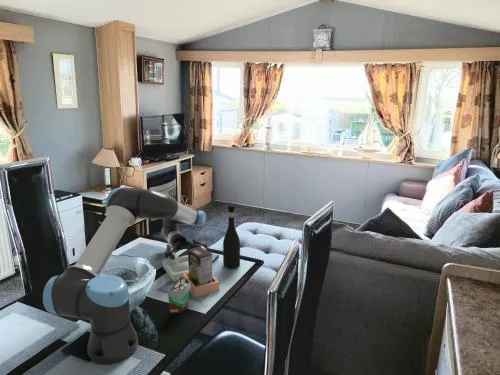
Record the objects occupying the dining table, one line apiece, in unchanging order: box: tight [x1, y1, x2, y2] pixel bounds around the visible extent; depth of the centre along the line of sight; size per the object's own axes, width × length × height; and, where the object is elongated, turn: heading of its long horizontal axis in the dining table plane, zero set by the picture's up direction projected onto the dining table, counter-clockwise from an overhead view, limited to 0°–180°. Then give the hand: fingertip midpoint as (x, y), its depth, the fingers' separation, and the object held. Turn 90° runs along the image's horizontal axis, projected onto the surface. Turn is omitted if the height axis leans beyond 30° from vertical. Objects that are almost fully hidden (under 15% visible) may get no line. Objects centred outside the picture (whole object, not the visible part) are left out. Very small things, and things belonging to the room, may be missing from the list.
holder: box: [183, 272, 220, 298], centre depth 153 cm, size 11×14×4 cm
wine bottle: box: [222, 204, 241, 270], centre depth 168 cm, size 8×8×30 cm
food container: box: [167, 276, 191, 315], centre depth 137 cm, size 12×6×10 cm, turn 168°
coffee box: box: [187, 247, 213, 286], centre depth 151 cm, size 9×6×16 cm
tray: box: [162, 254, 189, 282], centre depth 168 cm, size 18×16×3 cm
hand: (192, 257), depth 159 cm, fingers open, 13 cm apart
